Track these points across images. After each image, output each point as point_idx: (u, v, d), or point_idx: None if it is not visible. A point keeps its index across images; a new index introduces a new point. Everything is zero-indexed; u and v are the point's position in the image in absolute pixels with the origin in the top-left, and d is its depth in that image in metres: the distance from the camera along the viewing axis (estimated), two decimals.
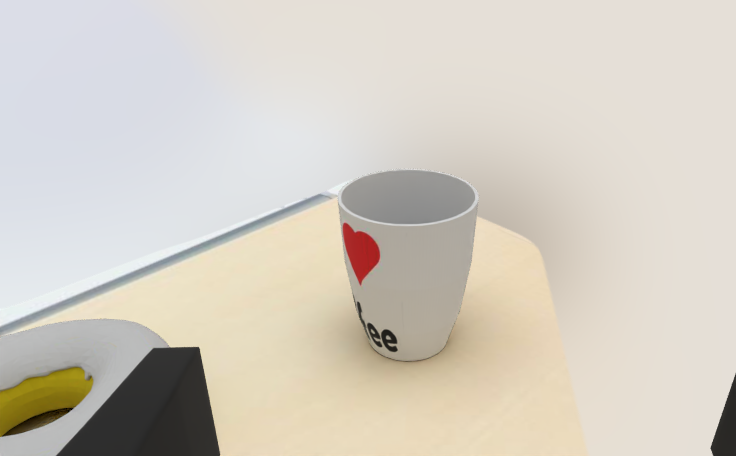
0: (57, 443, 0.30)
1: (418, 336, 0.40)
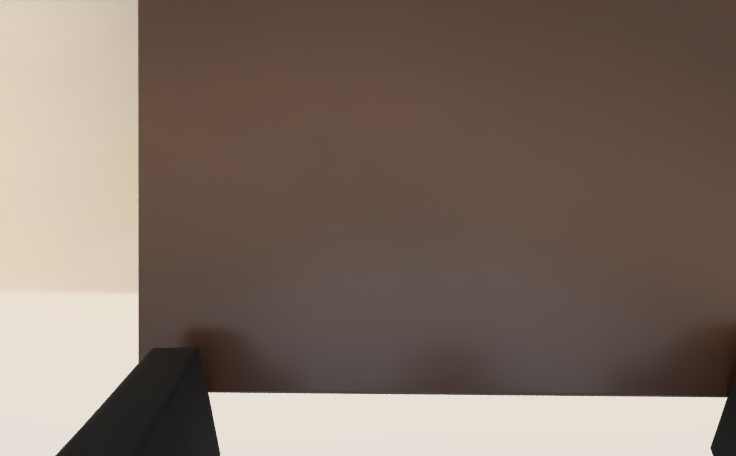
0: None
1: None
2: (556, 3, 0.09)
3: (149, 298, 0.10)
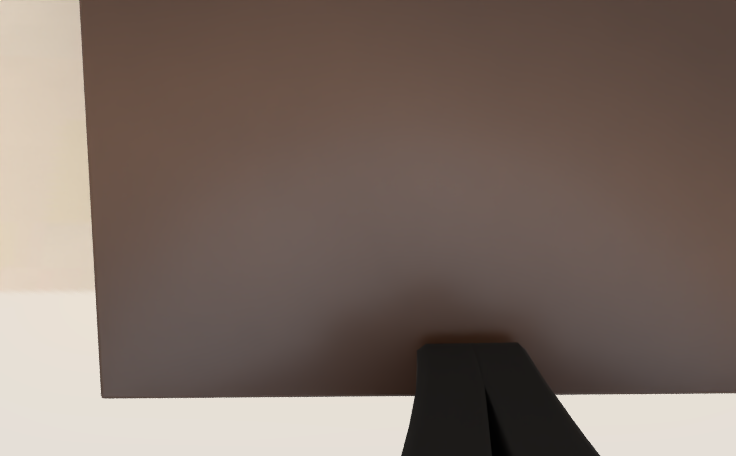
0: None
1: None
2: None
3: (107, 304, 0.09)
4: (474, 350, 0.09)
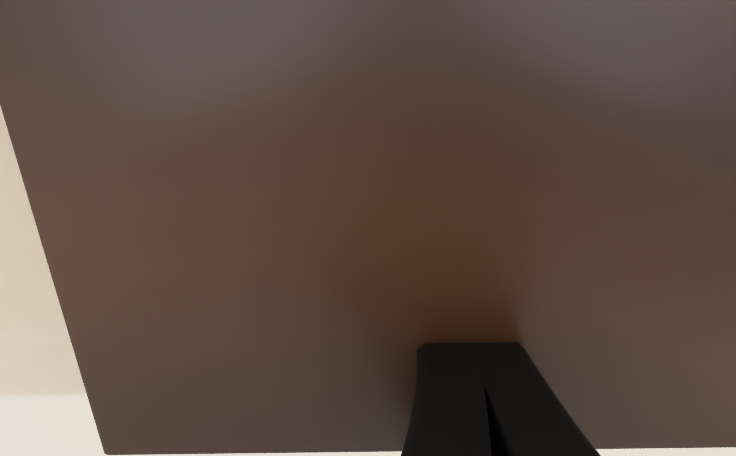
0: None
1: None
2: (555, 79, 0.07)
3: (95, 387, 0.09)
4: (474, 350, 0.09)
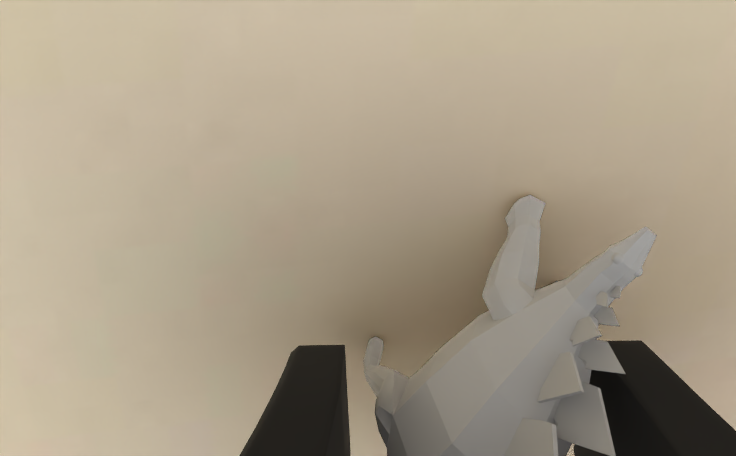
0: None
1: None
2: None
3: None
4: None
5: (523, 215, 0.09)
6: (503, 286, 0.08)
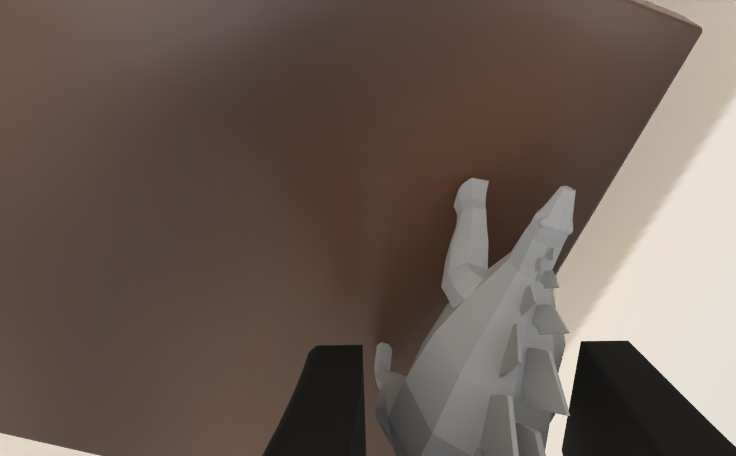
0: None
1: None
2: (202, 200, 0.10)
3: None
4: (587, 348, 0.08)
5: (466, 199, 0.09)
6: (455, 273, 0.09)
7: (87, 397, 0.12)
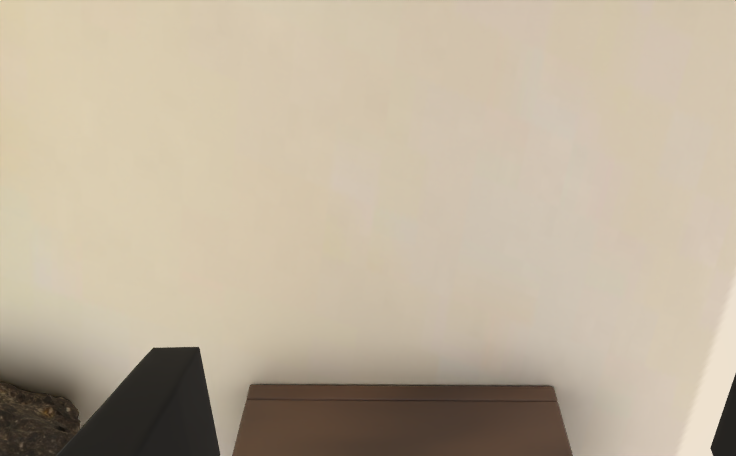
0: None
1: None
2: None
3: None
4: None
5: None
6: None
7: None
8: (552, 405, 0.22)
